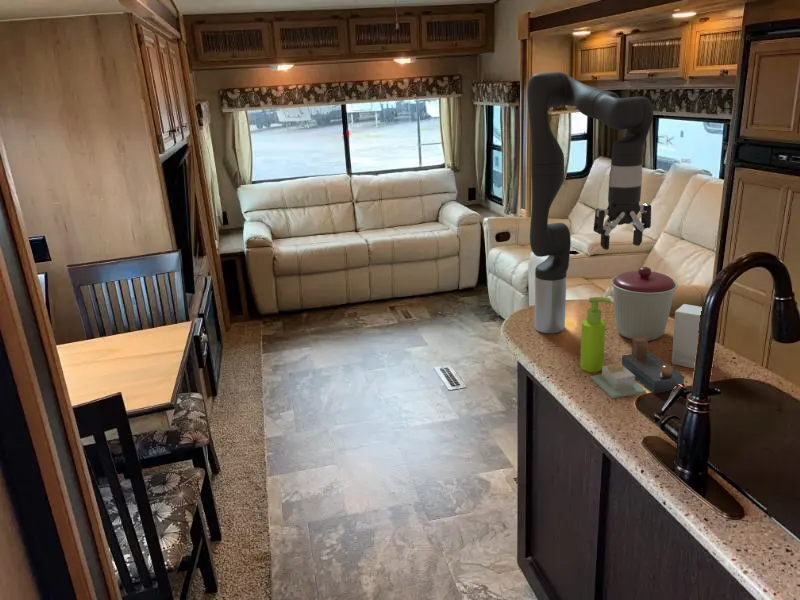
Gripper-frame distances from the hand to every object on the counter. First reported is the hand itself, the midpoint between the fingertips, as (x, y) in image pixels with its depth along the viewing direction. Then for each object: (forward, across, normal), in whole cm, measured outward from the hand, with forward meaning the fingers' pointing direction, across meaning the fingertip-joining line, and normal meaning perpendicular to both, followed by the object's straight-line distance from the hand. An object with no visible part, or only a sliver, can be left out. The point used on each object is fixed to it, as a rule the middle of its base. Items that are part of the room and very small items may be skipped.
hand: (620, 247), depth 155 cm
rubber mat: (+33, +5, +11) cm, 35 cm away
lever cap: (+32, +5, +11) cm, 35 cm away
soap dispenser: (+33, +6, 0) cm, 34 cm away
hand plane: (+33, -5, +10) cm, 35 cm away
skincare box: (+33, -19, +6) cm, 39 cm away
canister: (+33, -17, -15) cm, 40 cm away
